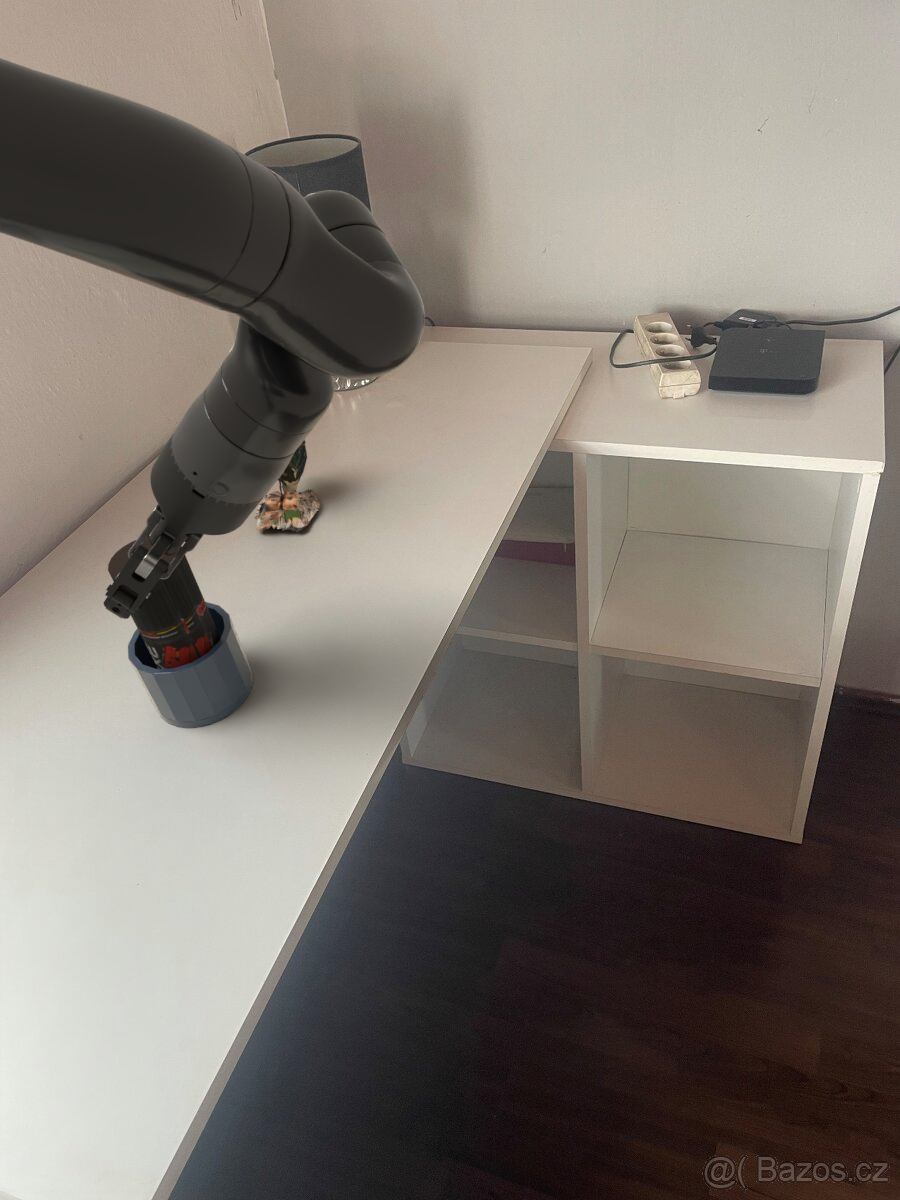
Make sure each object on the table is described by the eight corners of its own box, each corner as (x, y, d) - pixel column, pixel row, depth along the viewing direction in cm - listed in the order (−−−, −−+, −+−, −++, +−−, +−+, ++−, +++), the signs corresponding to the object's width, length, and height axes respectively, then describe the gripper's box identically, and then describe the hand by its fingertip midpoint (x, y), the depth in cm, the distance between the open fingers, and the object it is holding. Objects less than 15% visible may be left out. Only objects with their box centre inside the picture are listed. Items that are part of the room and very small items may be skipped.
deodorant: (159, 701, 78) (92, 575, 69) (196, 656, 82) (138, 530, 72) (213, 714, 76) (152, 586, 66) (248, 667, 80) (195, 539, 70)
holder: (212, 739, 75) (185, 684, 71) (136, 712, 79) (106, 658, 74) (272, 668, 81) (250, 613, 76) (198, 646, 85) (174, 592, 80)
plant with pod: (342, 483, 103) (301, 323, 90) (302, 541, 95) (250, 375, 82) (282, 479, 106) (233, 322, 93) (238, 534, 98) (178, 373, 85)
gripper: (221, 374, 65) (142, 497, 75) (128, 482, 54) (53, 608, 65) (304, 436, 67) (216, 547, 77) (230, 551, 57) (140, 662, 67)
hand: (142, 575), depth 71 cm, fingers open, 8 cm apart
